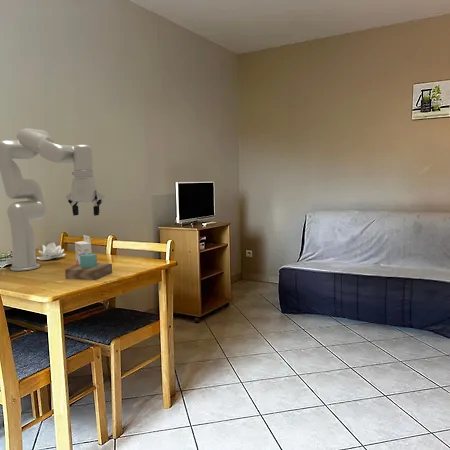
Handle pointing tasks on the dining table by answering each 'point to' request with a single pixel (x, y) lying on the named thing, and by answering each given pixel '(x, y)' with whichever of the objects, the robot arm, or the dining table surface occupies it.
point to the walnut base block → (88, 272)
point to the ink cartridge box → (82, 248)
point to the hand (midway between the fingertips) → (86, 215)
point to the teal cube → (88, 260)
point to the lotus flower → (51, 252)
